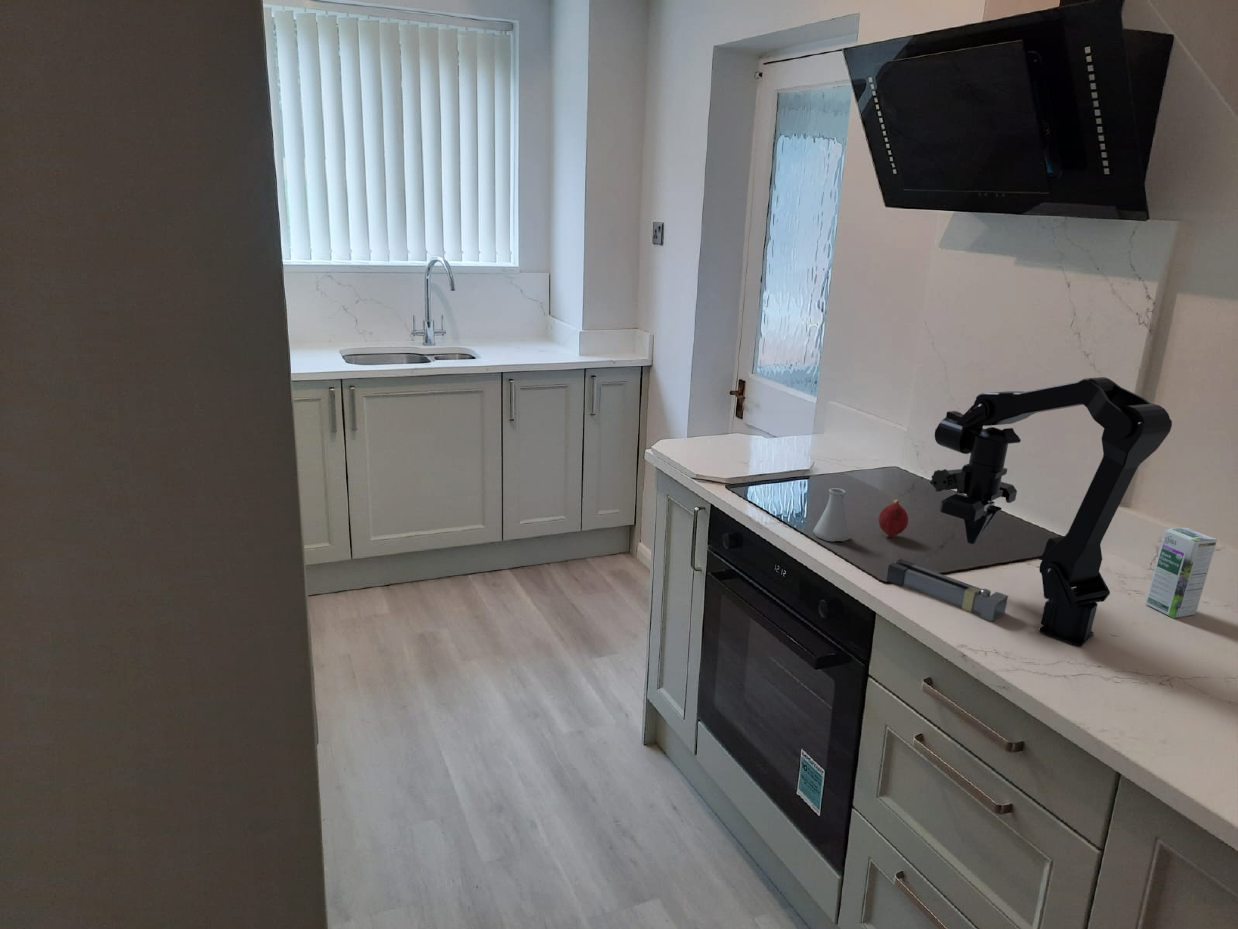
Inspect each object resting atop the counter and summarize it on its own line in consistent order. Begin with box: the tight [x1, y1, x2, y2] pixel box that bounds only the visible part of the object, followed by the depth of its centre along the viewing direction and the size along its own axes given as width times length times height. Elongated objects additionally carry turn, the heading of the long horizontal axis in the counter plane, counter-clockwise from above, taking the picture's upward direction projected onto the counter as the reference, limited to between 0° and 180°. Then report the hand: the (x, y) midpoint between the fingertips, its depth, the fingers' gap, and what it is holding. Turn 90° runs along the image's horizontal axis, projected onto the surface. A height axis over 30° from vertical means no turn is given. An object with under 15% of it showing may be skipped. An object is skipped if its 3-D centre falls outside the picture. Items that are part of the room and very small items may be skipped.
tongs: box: [885, 562, 1009, 623], centre depth 149 cm, size 20×5×4 cm, turn 45°
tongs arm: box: [895, 558, 992, 597], centre depth 151 cm, size 17×2×3 cm, turn 43°
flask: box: [812, 487, 851, 542], centre depth 174 cm, size 7×7×10 cm
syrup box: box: [1145, 527, 1218, 619], centre depth 147 cm, size 6×6×14 cm
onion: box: [878, 499, 909, 538], centre depth 175 cm, size 6×6×8 cm
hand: (971, 543), depth 155 cm, fingers closed
